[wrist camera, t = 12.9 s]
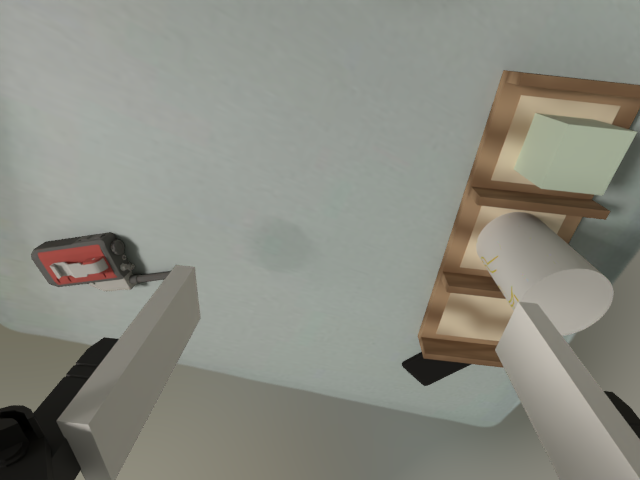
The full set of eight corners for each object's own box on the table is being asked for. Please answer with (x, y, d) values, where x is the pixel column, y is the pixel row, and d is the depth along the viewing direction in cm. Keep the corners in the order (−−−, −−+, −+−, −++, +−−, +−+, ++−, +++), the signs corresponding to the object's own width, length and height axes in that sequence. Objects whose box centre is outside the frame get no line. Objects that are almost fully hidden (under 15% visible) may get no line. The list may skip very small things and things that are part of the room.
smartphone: (507, 347, 52) (424, 387, 58) (505, 343, 53) (423, 383, 59) (484, 321, 50) (400, 365, 56) (482, 317, 51) (399, 361, 56)
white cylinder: (462, 243, 43) (500, 305, 33) (520, 198, 40) (583, 252, 29) (501, 279, 45) (548, 348, 35) (559, 240, 42) (630, 303, 32)
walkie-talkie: (68, 289, 53) (188, 274, 50) (47, 307, 49) (175, 293, 46) (36, 240, 49) (164, 221, 46) (10, 256, 45) (148, 237, 42)
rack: (503, 70, 35) (523, 73, 31) (641, 85, 34) (679, 90, 31) (417, 335, 53) (423, 358, 49) (508, 346, 53) (520, 369, 49)
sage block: (535, 113, 35) (568, 124, 30) (593, 119, 35) (637, 131, 30) (513, 169, 38) (540, 188, 33) (567, 175, 38) (602, 195, 33)
